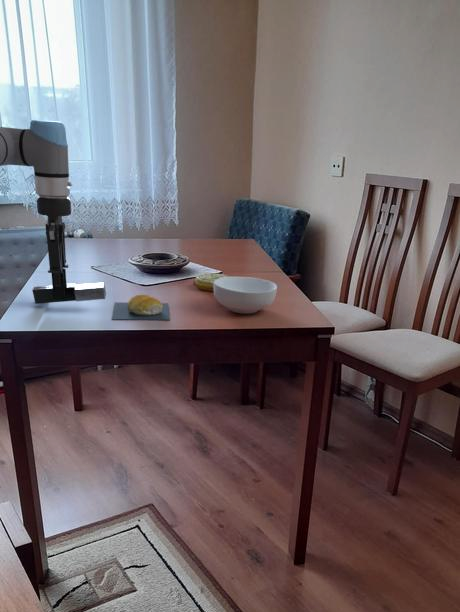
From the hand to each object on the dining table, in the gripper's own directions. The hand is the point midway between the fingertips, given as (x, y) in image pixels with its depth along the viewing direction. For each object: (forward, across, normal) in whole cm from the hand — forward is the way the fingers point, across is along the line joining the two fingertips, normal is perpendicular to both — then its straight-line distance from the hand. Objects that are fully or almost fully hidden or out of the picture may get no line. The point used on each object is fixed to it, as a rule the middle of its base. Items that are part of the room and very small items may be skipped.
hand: (60, 296), depth 137 cm
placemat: (+3, 0, -20) cm, 20 cm away
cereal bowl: (+3, +3, -47) cm, 47 cm away
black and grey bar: (+1, 0, -3) cm, 3 cm away
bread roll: (+3, -1, -21) cm, 21 cm away
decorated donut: (+3, +24, -41) cm, 47 cm away
